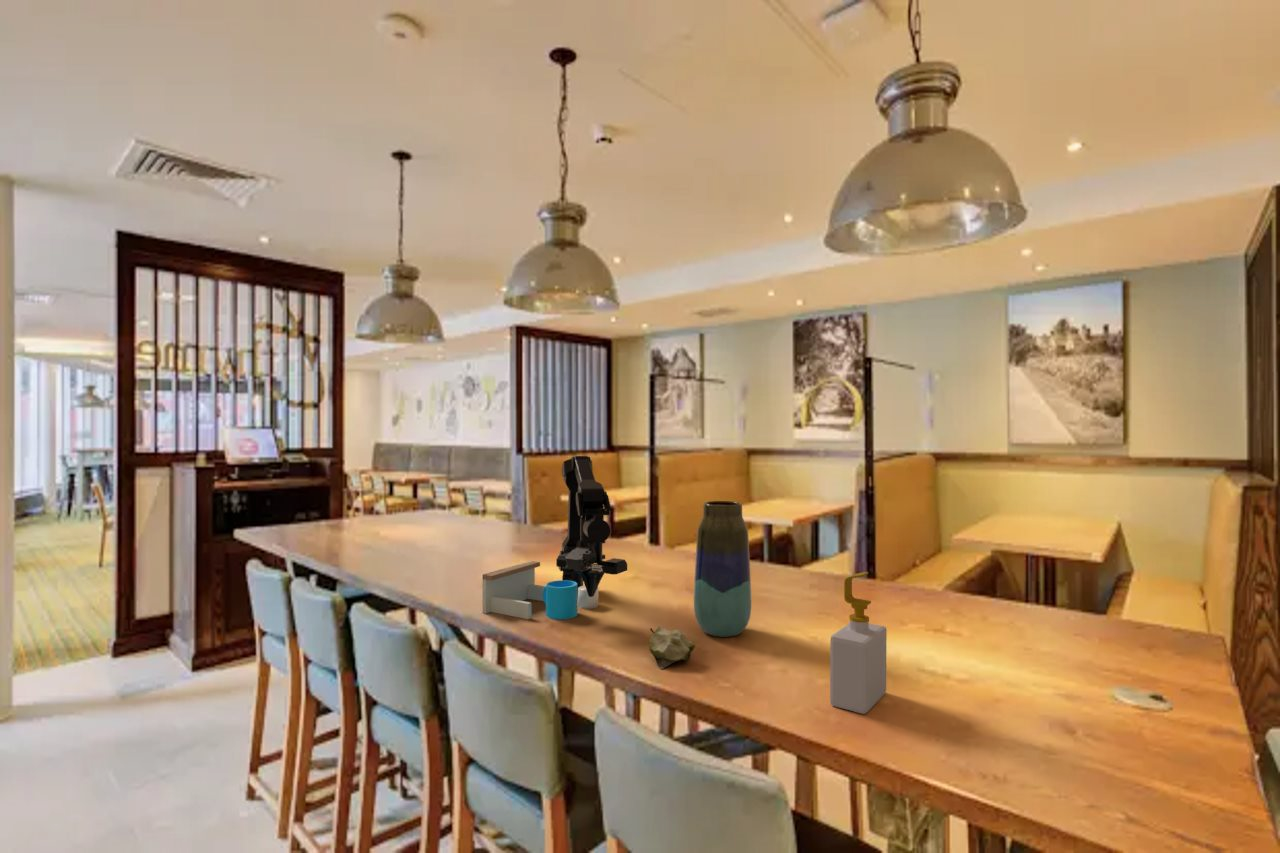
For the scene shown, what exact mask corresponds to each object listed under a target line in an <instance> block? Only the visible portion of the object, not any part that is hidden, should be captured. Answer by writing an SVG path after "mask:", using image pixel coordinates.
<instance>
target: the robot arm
mask: <svg viewBox="0 0 1280 853" xmlns="http://www.w3.org/2000/svg"><path fill="white" fill-rule="evenodd" d="M593 470H594V469H593V461H592V460H591V457H590V456H588V455H574V456H571V458H569V459H566V460H564V461H563V462H562V464H561V477H563V481H564V483H565V485H566V487H567V489H568V498H567V499H568V503H567V508H568V509H567V536H566V537H565V538H564V540H563V541H562V543H561V550H559V555H557V557H556V567H557V568H558V569H559V571H560V572H562V577H561V578H562V579H561V580H568V581H574V582H576V583H577V593H578V587H580V586H585V587H586V590H587V593H588V595H589V597H593V596H594V594H595V592H596V589H597V587H598V588H599V585H600V583H601V580H602V579H603V577H604V575H605V574H606V575H614V576H615V575H619V574H621V573H623V572H624V573H625V572H626V571H628V562H627V561H626V559H623V558H622V559H621V558H617V557H616V558H615V557H613V558H610V559H607V560H605V559H606V554H603V544H605V543H606V541H607V539H609V537H610V535H611V527H610V525H609V523H608V522H607V521H606V520H605V519H604V516H610V512H611V509H612V507H611V504H610V503H611V502H610V498H609V495H608V493H607V491H605V489H604V486H603V484H602V483H600V482H598V481H596V479H595V475H594V471H593Z"/></svg>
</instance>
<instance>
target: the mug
mask: <svg viewBox="0 0 1280 853" xmlns="http://www.w3.org/2000/svg"><path fill="white" fill-rule="evenodd" d="M545 586H546V587H545V588H544V590H543V600H544V601H543V603H544V605H545V616H546V617H547V618H549V619H552V620H568V619H572V618H575V617H577V616H578V592H577V583H576V582H574V581H568V580H562V579H561V580H559V579H558V580H553V581H548V582H546V583H545Z"/></svg>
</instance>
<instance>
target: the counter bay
mask: <svg viewBox="0 0 1280 853" xmlns="http://www.w3.org/2000/svg"><path fill="white" fill-rule="evenodd" d="M538 567H541V561H533V560H529V561H525V562H522V563H518V564H516V565H512V566H508V567H504V568H502V569H498V570H493V571H490V572H487V573H484V574H483V573H482V614H488V613H495V614H500V615H505V616H510V617H515V618H520V619H525V620H530V619H532V602H529V601H525V600H528V599H529V600H532V601H540V602H544V600H543V590H544V588H545V587H546V585H539V584H536V583H535V581H536V580H535V575H536V572H535V568H538Z"/></svg>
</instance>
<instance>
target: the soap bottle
mask: <svg viewBox="0 0 1280 853" xmlns="http://www.w3.org/2000/svg"><path fill="white" fill-rule="evenodd" d="M868 574H869V572H868V571H864V572H858V573H854V574H852V575H850V576H848V577H846V578H845V579H844V584H843V585H844V588H843V589H844V596H843V597H844V601H845V602H846V603H848V604H850V608H852V609H854V611H853V612H854V613H851V614H849V617H848V618H849V619H848V620H849V623H848V624H846V625H845V626H843V627H842V628H840V629H839V630H837V631H836V632H835V633H833V634H832V635H831V637H830V640H829V641H830V644H829V645H830V648H829V649H830V653H829V654H830V658H829V659H830V660H829V661H830V662H829V663H830V667H829V668H830V670H829V671H830V673H829V674H830V675H829V676H830V680H829V681H830V682H829V684H830V685H829V689H830V691H829V692H830V695H829V697H830V698H829V699H830V701H829V702H830V705H831V706H833V707H837V708H840V709H843V710H848V711H851V712H855V713H858V714H862V715H865V714H868V713H869V711H870V710H871V709H872V708H873V707H874V706H875V705H876V704H877V703H878V702H879V701H880V700H881V699H882V697H883V696H885V694H886V692H887V632H888V631H887V627H886V626H884V625H881V624H880V625H879V624H874V623H869V622H870V616H868V615H866V614H865V610H868V606H869V605H870V604H871V603H872V601H871V600H869V599H862V598H857V597H854V596H853V579H856V578H857V579H858V578H862V577H865V576H867V575H868Z"/></svg>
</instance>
